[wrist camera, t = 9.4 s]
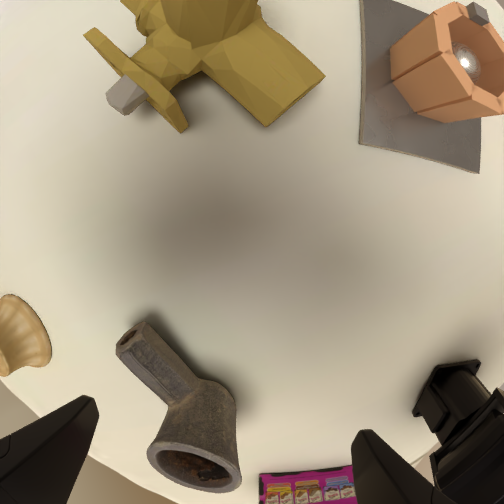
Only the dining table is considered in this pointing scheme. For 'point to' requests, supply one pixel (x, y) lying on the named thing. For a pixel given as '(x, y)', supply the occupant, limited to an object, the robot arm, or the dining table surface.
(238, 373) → the dining table surface
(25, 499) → the robot arm
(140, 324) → the pipe
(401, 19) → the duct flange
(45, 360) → the hand bell
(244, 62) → the ball valve
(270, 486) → the candy bar box
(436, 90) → the collar
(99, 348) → the dining table surface
